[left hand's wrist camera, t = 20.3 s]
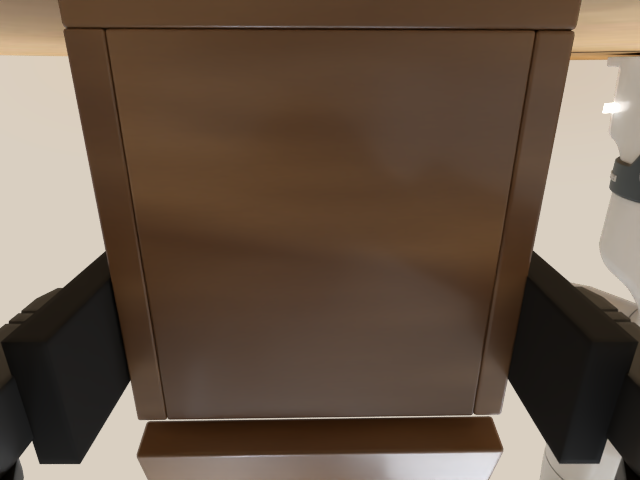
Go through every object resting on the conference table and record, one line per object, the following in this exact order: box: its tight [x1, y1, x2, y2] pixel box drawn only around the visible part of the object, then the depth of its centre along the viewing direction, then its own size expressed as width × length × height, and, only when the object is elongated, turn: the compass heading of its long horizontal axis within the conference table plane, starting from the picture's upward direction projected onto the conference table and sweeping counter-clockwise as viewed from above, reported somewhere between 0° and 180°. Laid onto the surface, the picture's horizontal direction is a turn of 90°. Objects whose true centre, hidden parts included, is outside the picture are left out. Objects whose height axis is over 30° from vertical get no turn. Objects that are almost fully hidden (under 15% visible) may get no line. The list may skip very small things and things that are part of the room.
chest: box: [58, 0, 581, 420], centre depth 17 cm, size 17×9×9 cm, turn 179°
